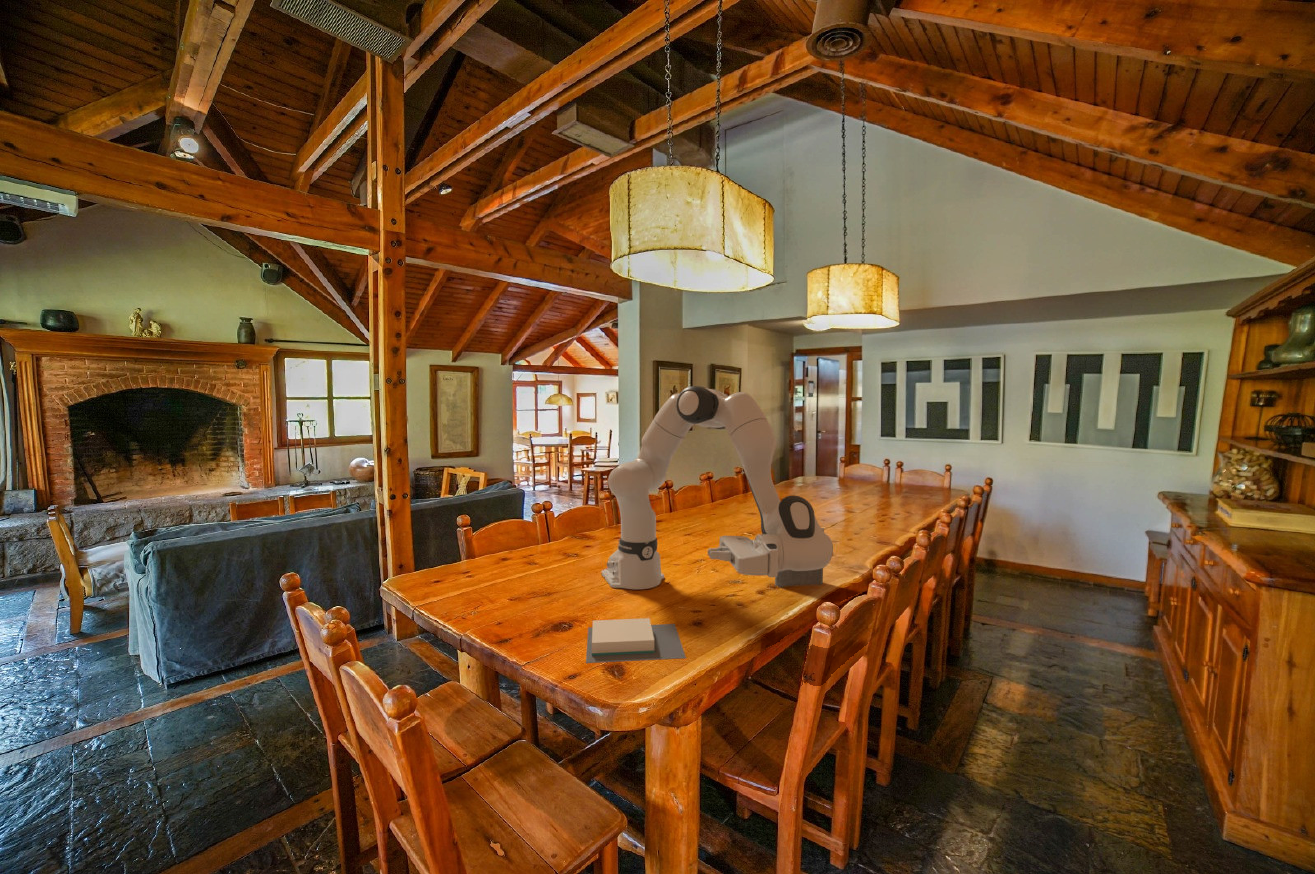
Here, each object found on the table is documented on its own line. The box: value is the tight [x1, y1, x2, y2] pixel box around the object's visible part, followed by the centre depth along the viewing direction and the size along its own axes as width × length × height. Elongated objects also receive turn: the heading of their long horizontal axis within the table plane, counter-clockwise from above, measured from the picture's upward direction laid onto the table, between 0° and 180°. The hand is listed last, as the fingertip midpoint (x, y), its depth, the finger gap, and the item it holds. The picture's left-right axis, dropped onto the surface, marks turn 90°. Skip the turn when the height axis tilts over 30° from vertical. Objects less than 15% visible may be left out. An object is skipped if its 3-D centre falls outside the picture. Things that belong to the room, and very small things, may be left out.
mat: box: [585, 623, 687, 664], centre depth 122 cm, size 22×18×1 cm
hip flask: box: [774, 528, 825, 588], centre depth 163 cm, size 16×4×20 cm, turn 102°
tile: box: [592, 617, 654, 656], centre depth 122 cm, size 3×12×14 cm
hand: (708, 553), depth 123 cm, fingers closed
